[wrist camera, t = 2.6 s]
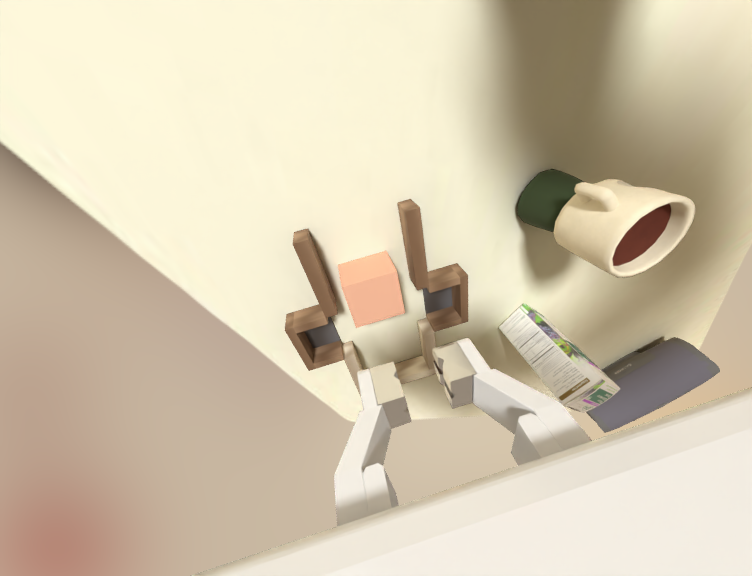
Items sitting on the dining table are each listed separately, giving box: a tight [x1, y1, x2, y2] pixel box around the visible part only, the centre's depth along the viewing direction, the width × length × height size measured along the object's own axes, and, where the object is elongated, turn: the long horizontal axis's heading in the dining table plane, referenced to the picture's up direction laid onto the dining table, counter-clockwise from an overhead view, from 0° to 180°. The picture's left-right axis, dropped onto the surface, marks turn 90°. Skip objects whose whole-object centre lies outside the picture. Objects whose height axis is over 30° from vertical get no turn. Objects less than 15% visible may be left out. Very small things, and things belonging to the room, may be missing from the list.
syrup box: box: [499, 304, 620, 413], centre depth 38 cm, size 6×6×14 cm
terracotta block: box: [338, 251, 405, 328], centre depth 31 cm, size 6×6×5 cm
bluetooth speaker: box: [587, 337, 720, 432], centre depth 56 cm, size 23×9×10 cm, turn 133°
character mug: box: [518, 169, 695, 277], centre depth 27 cm, size 11×7×13 cm, turn 49°
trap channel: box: [285, 199, 468, 396], centre depth 35 cm, size 23×28×3 cm
